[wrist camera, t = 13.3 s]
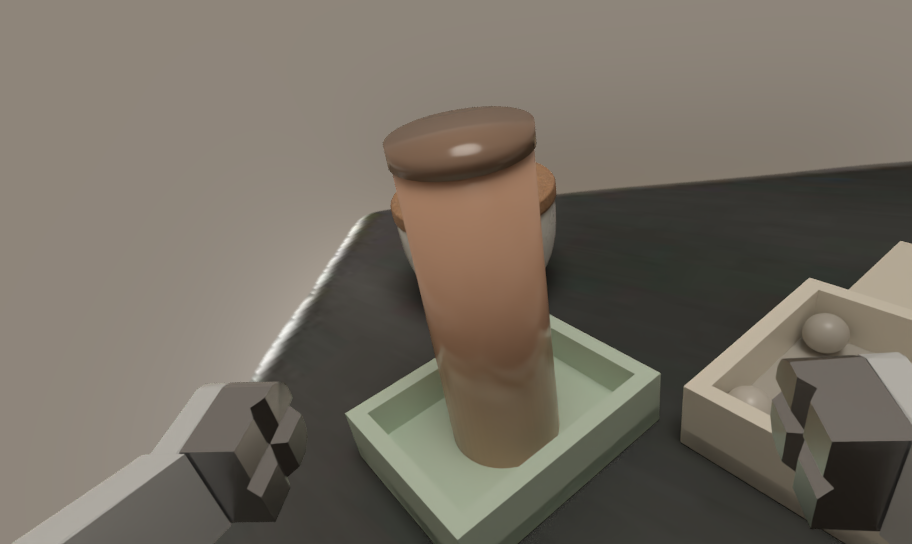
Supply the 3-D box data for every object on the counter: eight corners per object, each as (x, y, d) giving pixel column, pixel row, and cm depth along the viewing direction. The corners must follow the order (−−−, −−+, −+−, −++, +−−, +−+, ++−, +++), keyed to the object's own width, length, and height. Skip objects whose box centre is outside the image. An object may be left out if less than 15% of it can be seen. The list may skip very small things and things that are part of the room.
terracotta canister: (509, 371, 31) (469, 100, 23) (585, 423, 27) (567, 117, 19) (430, 425, 28) (356, 142, 21) (500, 491, 24) (440, 170, 17)
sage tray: (530, 342, 34) (526, 302, 32) (659, 419, 27) (660, 373, 26) (360, 455, 28) (345, 413, 27) (469, 585, 22) (457, 539, 20)
